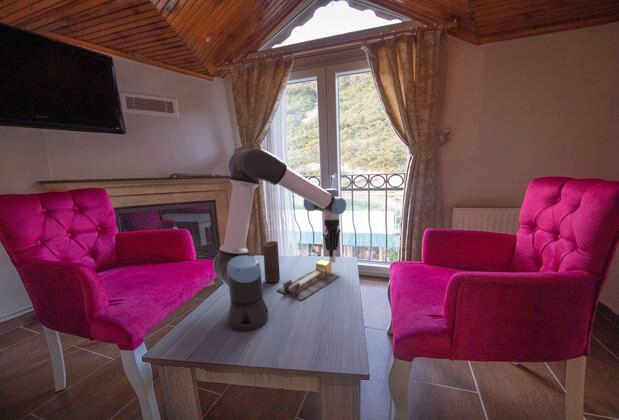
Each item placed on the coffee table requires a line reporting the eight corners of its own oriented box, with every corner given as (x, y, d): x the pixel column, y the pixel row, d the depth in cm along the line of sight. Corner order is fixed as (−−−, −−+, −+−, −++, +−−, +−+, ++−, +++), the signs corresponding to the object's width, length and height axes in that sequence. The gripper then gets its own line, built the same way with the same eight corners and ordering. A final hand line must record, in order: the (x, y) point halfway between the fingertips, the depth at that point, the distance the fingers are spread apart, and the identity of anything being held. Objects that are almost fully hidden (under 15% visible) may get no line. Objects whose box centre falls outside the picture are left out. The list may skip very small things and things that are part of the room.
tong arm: (293, 293, 116) (292, 288, 115) (287, 290, 118) (287, 286, 118) (321, 274, 131) (321, 271, 131) (316, 273, 134) (316, 269, 133)
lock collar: (325, 277, 132) (325, 265, 131) (316, 274, 136) (315, 262, 135) (331, 273, 136) (331, 262, 135) (322, 271, 140) (321, 259, 139)
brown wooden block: (279, 284, 128) (276, 244, 124) (263, 284, 128) (261, 245, 124) (280, 277, 135) (278, 239, 132) (266, 277, 135) (264, 240, 132)
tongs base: (301, 301, 111) (300, 289, 111) (276, 291, 121) (276, 280, 120) (339, 276, 134) (339, 267, 133) (316, 270, 143) (315, 261, 142)
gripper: (330, 221, 130) (331, 267, 134) (344, 217, 139) (345, 259, 144) (318, 220, 134) (319, 263, 139) (332, 215, 144) (333, 256, 148)
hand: (332, 261), depth 141 cm, fingers closed
